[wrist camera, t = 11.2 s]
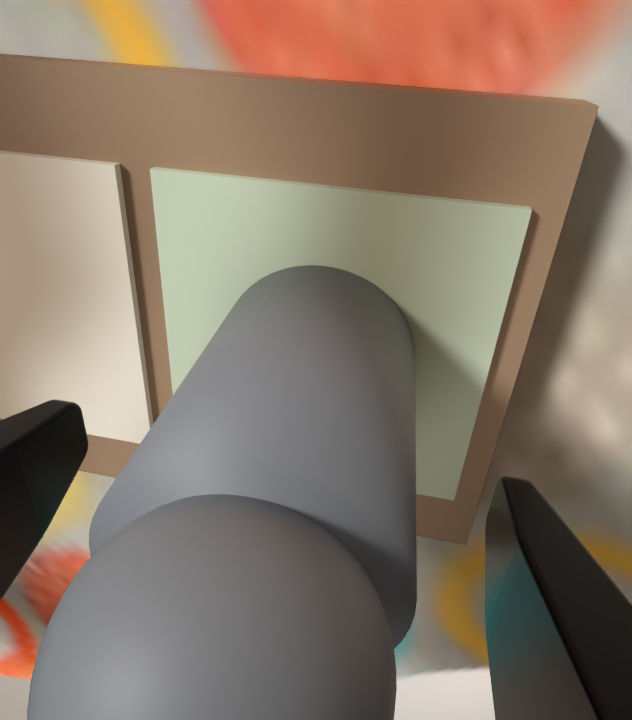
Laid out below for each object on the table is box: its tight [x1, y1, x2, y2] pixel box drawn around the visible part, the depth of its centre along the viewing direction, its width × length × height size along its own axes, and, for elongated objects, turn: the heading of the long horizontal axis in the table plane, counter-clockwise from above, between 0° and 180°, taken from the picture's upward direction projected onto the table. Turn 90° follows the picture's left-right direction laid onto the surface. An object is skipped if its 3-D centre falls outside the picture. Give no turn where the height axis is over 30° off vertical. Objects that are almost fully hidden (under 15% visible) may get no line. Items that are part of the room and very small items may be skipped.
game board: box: [0, 54, 599, 545], centre depth 13 cm, size 23×10×1 cm, turn 86°
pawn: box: [27, 265, 417, 720], centre depth 8 cm, size 4×4×8 cm
